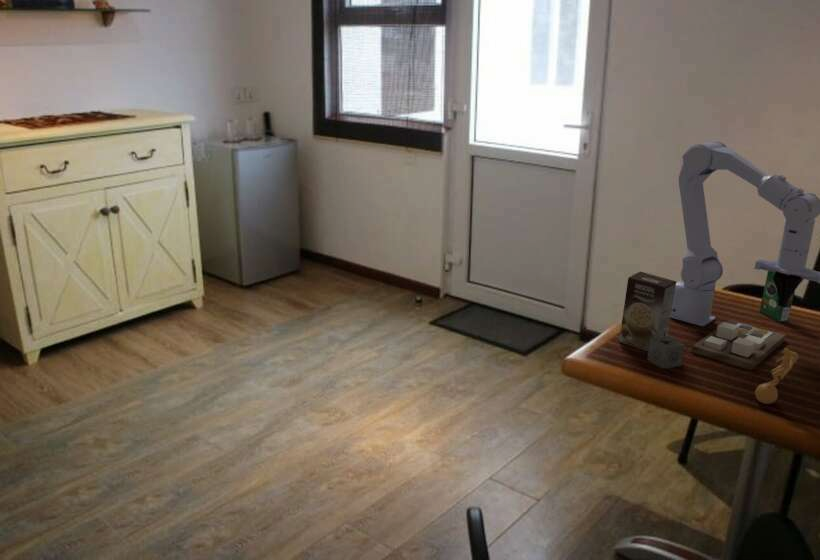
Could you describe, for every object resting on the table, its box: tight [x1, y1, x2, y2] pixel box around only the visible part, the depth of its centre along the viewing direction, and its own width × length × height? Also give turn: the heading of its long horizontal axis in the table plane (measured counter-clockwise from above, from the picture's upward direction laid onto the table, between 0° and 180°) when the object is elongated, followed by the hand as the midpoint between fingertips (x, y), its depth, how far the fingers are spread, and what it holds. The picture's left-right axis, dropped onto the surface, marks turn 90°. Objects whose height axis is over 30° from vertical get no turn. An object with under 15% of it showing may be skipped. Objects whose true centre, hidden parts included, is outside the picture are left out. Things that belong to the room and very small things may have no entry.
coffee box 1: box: [618, 271, 677, 353], centre depth 165 cm, size 9×6×16 cm
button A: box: [716, 321, 739, 342], centre depth 169 cm, size 4×4×3 cm
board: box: [691, 319, 787, 371], centre depth 168 cm, size 13×23×2 cm, turn 137°
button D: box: [731, 337, 756, 358], centre depth 160 cm, size 4×4×3 cm
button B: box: [744, 335, 765, 350], centre depth 165 cm, size 4×4×3 cm
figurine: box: [754, 347, 799, 405], centre depth 140 cm, size 8×6×12 cm
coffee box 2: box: [759, 271, 796, 323], centre depth 185 cm, size 8×3×13 cm, turn 13°
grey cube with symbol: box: [646, 335, 686, 370], centre depth 157 cm, size 5×5×5 cm
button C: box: [704, 336, 728, 351], centre depth 164 cm, size 4×4×3 cm
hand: (782, 305), depth 166 cm, fingers closed
